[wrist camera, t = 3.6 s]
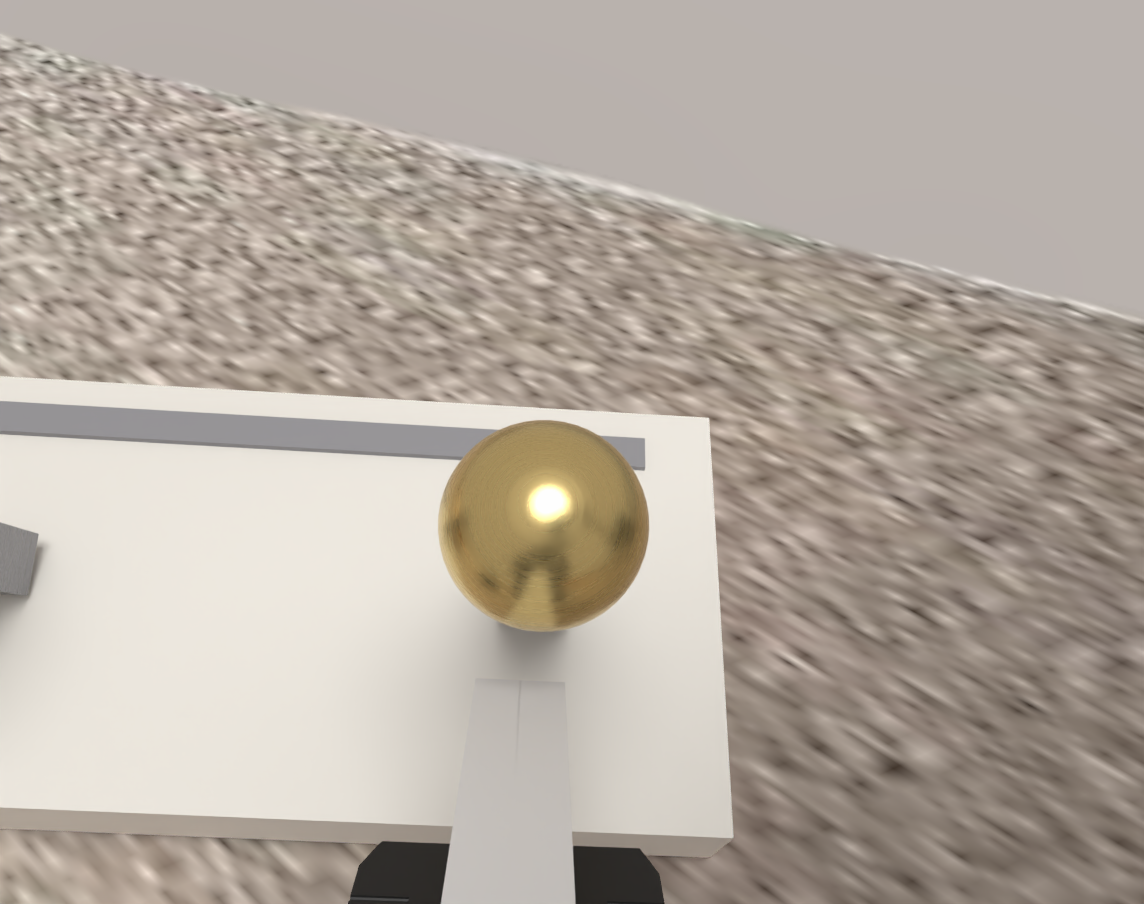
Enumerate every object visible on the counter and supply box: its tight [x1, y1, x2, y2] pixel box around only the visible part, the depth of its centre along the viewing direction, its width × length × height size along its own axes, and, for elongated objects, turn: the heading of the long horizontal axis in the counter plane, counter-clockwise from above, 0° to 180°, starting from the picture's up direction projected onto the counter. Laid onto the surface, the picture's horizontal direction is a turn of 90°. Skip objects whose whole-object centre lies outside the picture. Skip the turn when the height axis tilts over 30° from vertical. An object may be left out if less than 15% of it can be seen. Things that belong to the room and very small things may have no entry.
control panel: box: [0, 376, 734, 858], centre depth 26 cm, size 12×24×3 cm, turn 88°
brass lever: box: [438, 420, 649, 632], centre depth 19 cm, size 3×3×12 cm
